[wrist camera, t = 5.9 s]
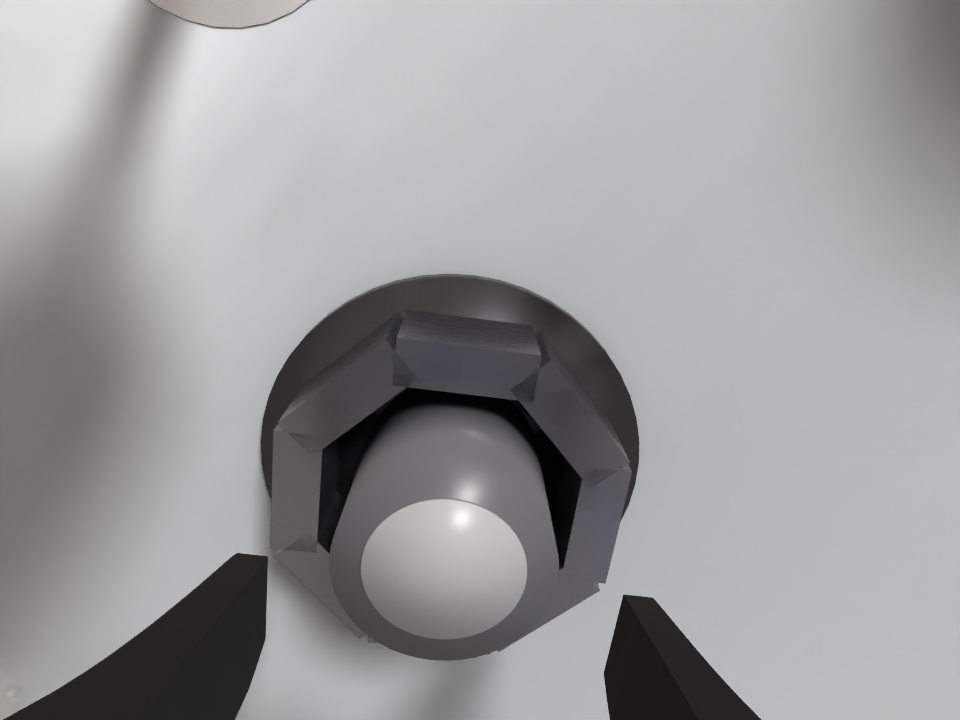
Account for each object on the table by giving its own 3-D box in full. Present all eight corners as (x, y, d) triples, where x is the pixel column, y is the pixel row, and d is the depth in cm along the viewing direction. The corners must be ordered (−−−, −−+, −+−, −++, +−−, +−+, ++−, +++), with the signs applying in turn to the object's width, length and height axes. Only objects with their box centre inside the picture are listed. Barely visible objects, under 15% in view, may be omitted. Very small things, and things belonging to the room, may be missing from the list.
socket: (596, 620, 21) (615, 695, 18) (262, 586, 21) (228, 657, 18) (672, 301, 18) (711, 332, 15) (270, 248, 17) (230, 271, 14)
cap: (524, 541, 20) (540, 673, 15) (360, 524, 19) (322, 653, 15) (550, 390, 18) (578, 484, 13) (372, 370, 18) (333, 458, 13)
